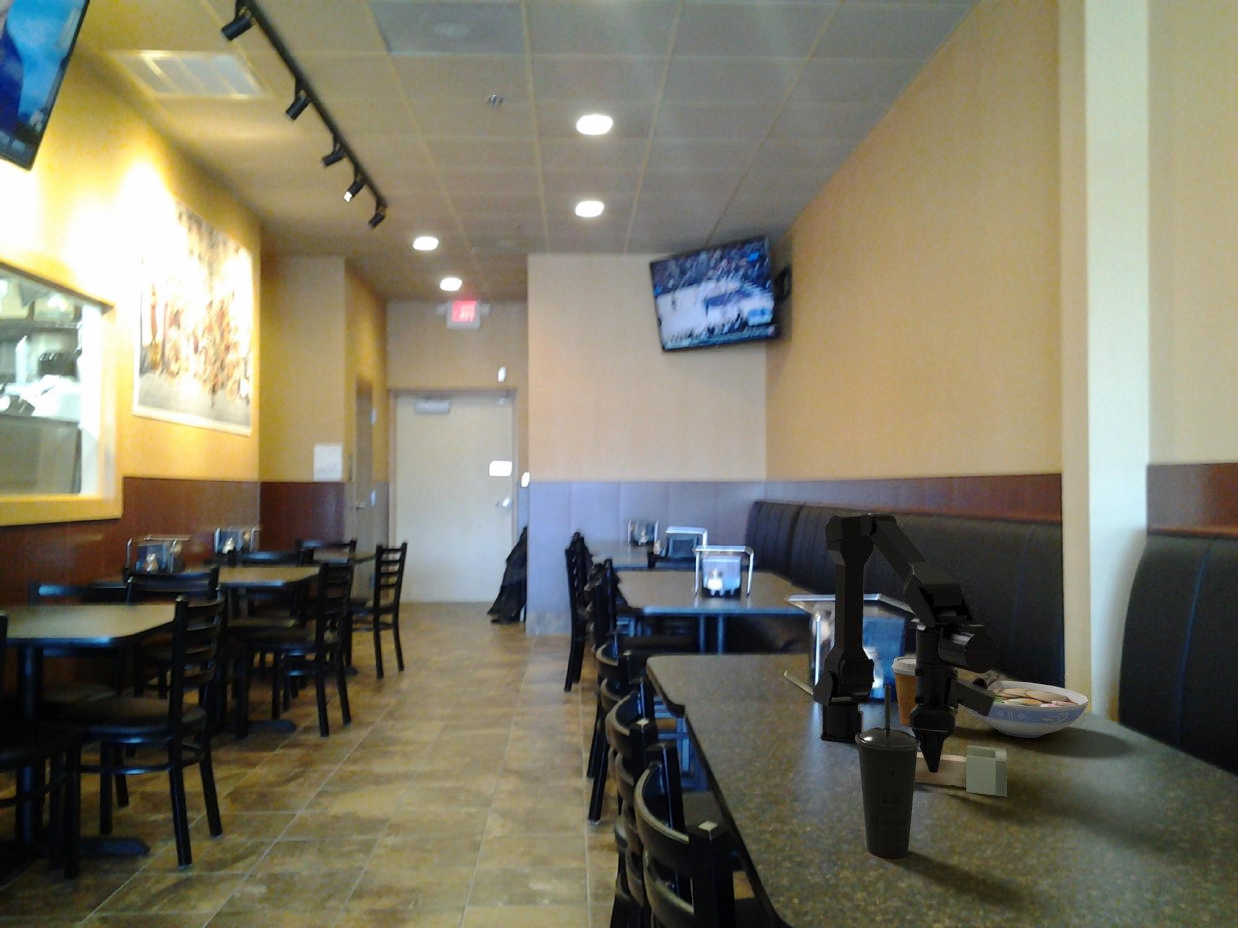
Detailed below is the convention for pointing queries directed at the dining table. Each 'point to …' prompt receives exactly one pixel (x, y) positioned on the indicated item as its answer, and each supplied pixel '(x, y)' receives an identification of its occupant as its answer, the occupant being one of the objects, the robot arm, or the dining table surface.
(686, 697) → the dining table surface
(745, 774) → the dining table surface
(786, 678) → the dining table surface
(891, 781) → the drinking cup
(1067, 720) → the ramen bowl
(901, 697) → the disposable coffee cup
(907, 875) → the dining table surface
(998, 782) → the right end cap
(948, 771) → the slat
